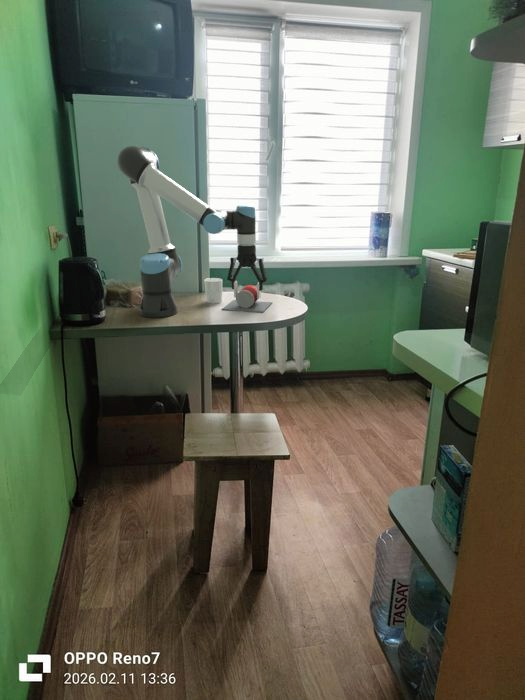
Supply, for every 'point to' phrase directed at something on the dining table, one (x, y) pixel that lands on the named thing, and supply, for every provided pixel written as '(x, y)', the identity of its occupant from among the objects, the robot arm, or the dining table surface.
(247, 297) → the canned food
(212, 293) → the white cup
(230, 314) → the dining table surface
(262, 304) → the slate mat
